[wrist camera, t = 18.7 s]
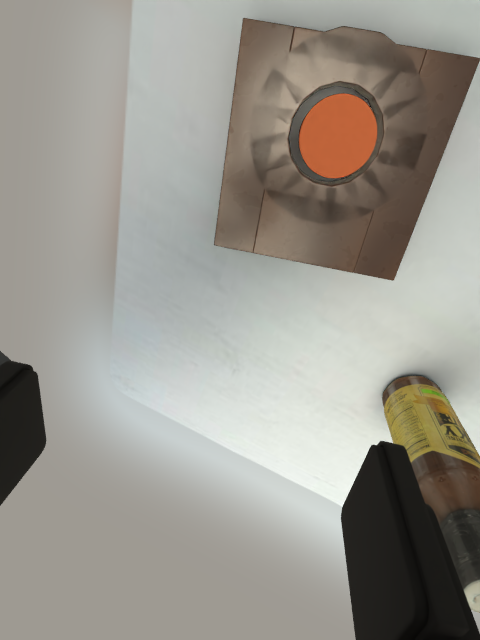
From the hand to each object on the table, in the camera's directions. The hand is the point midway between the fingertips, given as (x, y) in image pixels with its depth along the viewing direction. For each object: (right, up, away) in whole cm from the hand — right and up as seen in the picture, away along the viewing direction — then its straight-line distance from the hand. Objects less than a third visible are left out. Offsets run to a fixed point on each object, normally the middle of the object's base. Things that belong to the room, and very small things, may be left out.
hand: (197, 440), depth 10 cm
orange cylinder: (+9, +18, +19) cm, 28 cm away
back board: (+8, +16, +20) cm, 27 cm away
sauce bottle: (+20, -5, +30) cm, 36 cm away
